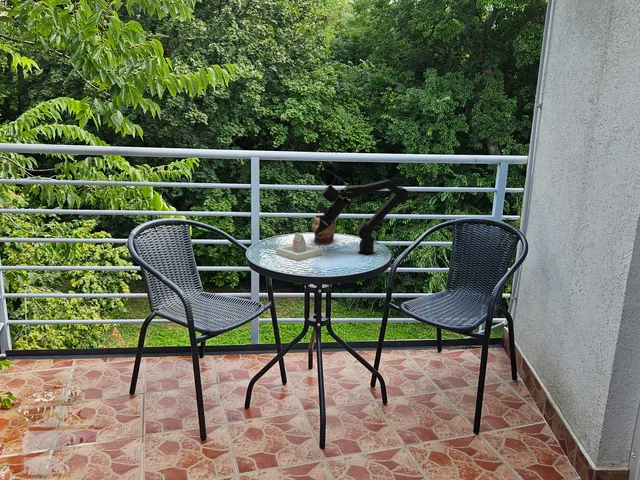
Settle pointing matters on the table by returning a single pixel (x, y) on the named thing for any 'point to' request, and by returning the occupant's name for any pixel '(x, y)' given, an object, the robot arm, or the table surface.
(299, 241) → the tea bag
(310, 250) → the housing tray
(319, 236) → the decorative planter
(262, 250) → the table surface
